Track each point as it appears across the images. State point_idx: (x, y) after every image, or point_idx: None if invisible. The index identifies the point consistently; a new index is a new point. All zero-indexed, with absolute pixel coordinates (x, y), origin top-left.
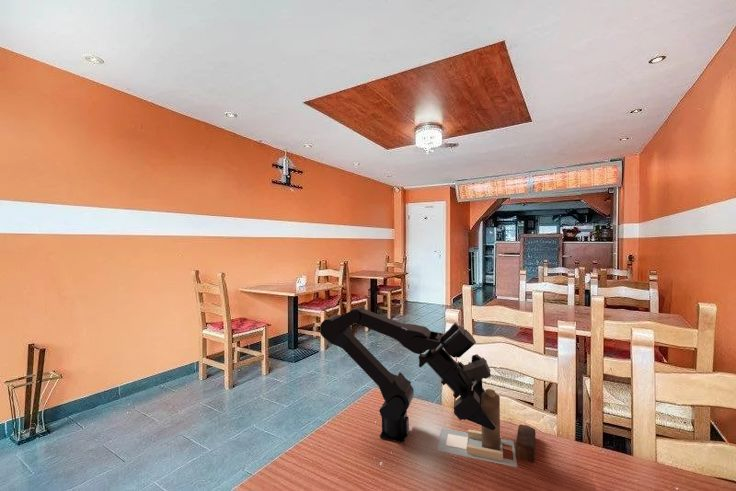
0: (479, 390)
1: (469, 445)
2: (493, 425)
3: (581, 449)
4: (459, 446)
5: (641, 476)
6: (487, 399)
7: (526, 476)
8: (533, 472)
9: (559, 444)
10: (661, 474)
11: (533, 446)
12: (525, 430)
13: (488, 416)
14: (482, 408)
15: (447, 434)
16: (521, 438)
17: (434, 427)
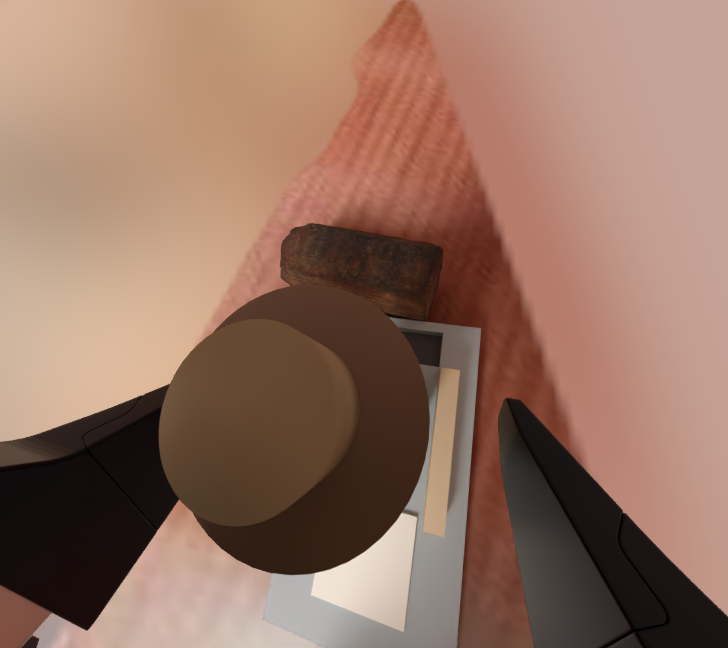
0: (86, 486)
1: (430, 518)
2: (537, 420)
3: (331, 152)
4: (402, 552)
5: (414, 69)
6: (409, 490)
7: (488, 309)
8: (462, 284)
9: (315, 194)
10: (398, 40)
11: (427, 243)
12: (323, 252)
13: (549, 476)
14: (660, 640)
15: (312, 596)
16: (382, 276)
17: (239, 637)
